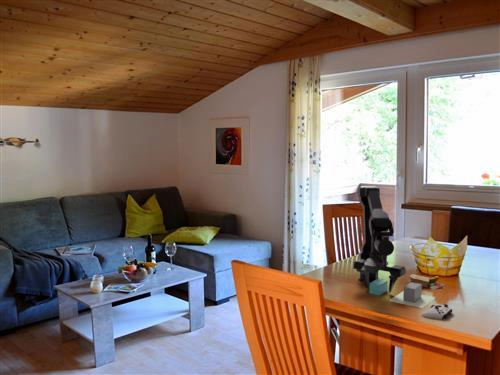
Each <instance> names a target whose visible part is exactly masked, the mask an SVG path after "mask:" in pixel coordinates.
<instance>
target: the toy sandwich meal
mask: <svg viewBox="0 0 500 375" xmlns="http://www.w3.org/2000/svg"><path fill="white" fill-rule="evenodd" d="M439 278H440V276H435V277H428V276H423V275H420V274H414V273H412V274H410V275H409V279H408V281H407V283H408V284H409V283H411V282H412V283H417V284H422V289H423V290H426V291H429V289H428V287H429V288H430V290H432V291H439V290H443V289H445V284H444V283H440V282H437V281H438V280H439ZM408 284H407V285H408Z"/></svg>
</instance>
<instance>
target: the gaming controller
mask: <svg viewBox="0 0 500 375" xmlns="http://www.w3.org/2000/svg"><path fill="white" fill-rule="evenodd" d="M452 312H453V309H452V308H451V307H449V304H447V303H444V304H439V303H437V304H436V303H434V304H432V305H430V308H429V309H426V310H425V311H423V312H421V314H420V315H421V317H423V318H427V319H435V320H436V319H437V320H446V319H447V317H448V316H449V315H451V314H452Z"/></svg>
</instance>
